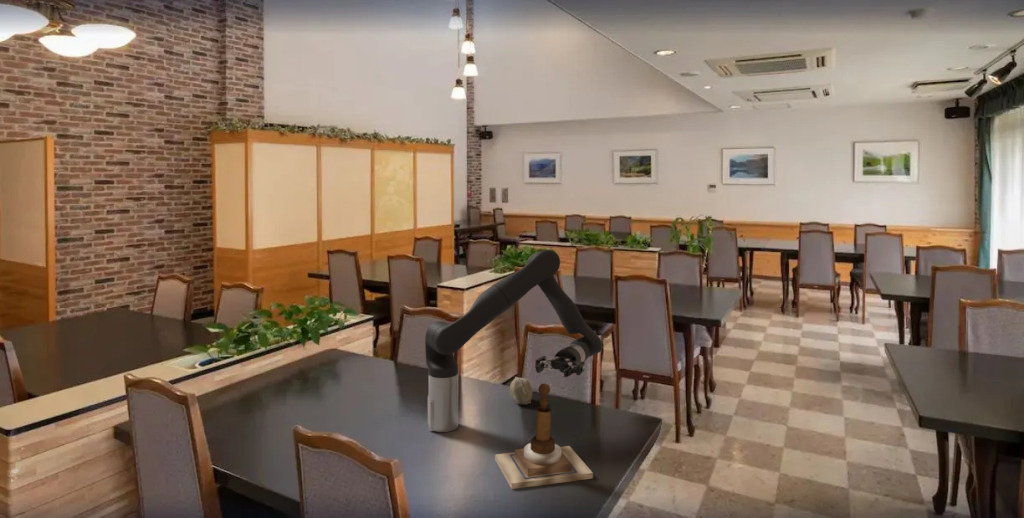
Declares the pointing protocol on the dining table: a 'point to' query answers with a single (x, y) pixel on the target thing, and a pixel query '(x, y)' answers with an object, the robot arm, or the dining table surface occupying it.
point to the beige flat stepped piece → (542, 467)
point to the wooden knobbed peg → (543, 425)
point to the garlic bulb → (521, 391)
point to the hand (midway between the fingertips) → (551, 371)
